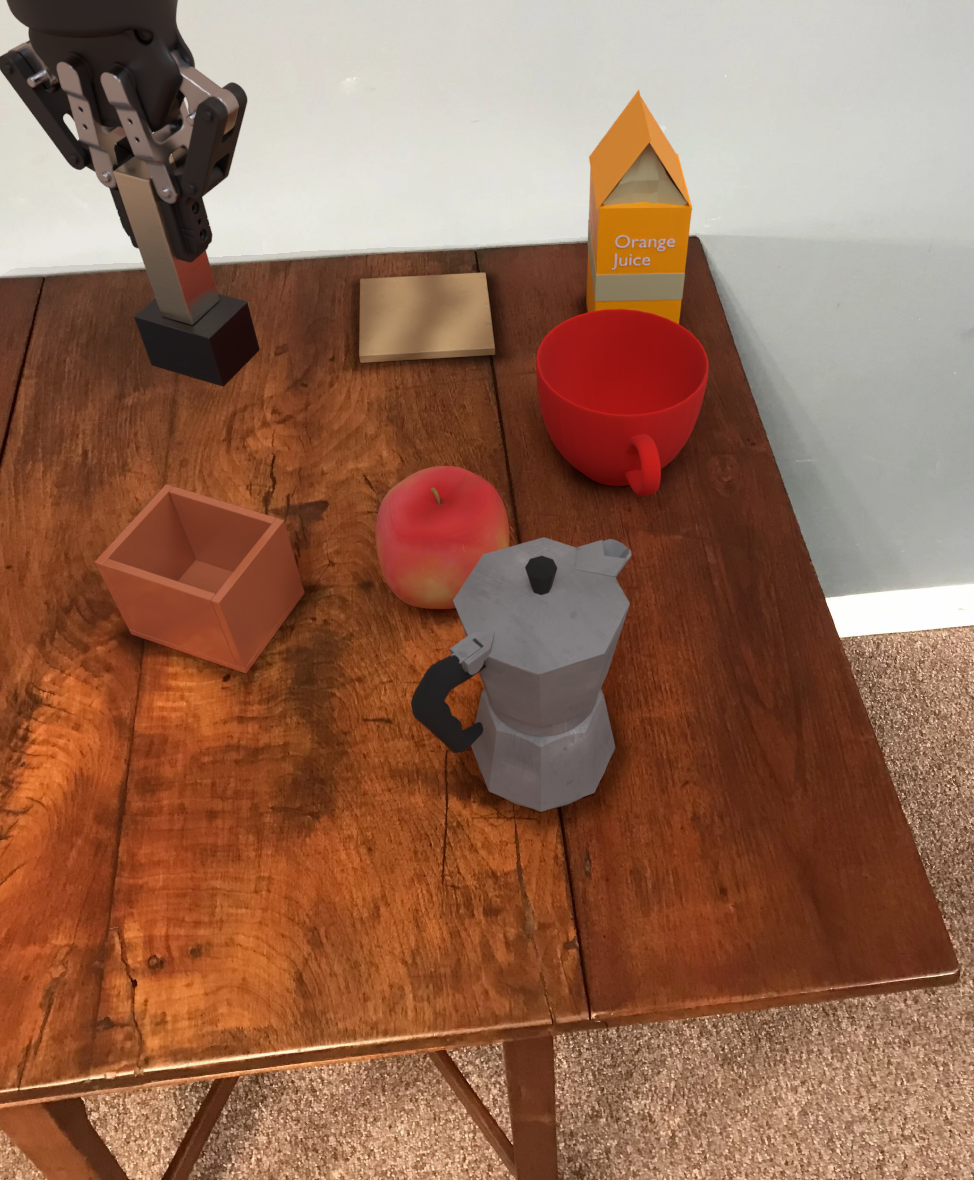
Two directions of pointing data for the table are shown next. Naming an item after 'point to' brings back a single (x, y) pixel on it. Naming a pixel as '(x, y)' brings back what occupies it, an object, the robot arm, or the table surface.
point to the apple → (437, 533)
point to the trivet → (425, 317)
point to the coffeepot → (534, 669)
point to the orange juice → (637, 218)
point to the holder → (203, 577)
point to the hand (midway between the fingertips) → (172, 247)
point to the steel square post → (182, 295)
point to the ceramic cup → (621, 394)
